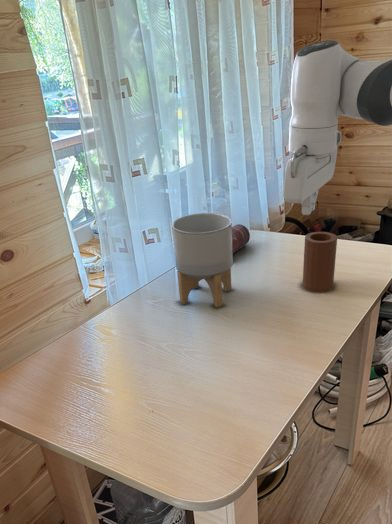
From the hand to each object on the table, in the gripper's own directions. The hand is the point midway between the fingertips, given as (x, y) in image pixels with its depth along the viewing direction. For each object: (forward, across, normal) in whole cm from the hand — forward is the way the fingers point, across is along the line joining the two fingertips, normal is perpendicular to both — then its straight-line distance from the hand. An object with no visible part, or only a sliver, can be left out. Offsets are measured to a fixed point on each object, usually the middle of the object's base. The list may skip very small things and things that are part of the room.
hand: (308, 212), depth 105 cm
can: (+17, +27, +28) cm, 43 cm away
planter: (+20, -6, +22) cm, 30 cm away
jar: (+20, +9, 0) cm, 22 cm away
